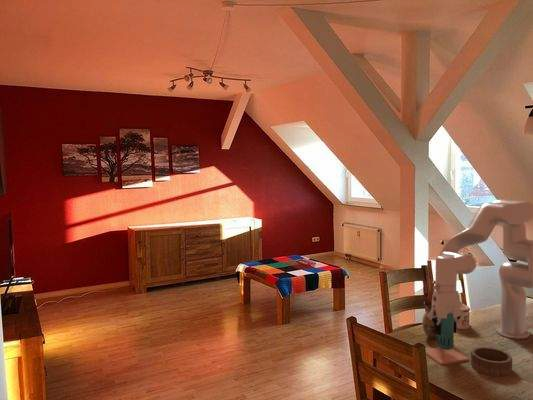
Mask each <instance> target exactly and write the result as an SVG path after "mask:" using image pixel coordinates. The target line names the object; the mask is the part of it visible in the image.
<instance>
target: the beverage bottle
mask: <svg viewBox="0 0 533 400" xmlns="http://www.w3.org/2000/svg"><path fill="white" fill-rule="evenodd" d="M453 315H454V314H453V313H449V314H447V318H445V319H441V321H440V324H439V325H441V335H438V334H437V335H436V337H437V338H436V339H435V340H436V341H435V342H436V343H435V344H436V348H437V347H439V348H441V349H445V350H450V349H454V343H455V340H454V335H455V333H454V317H453ZM437 319H438V318H437Z"/></svg>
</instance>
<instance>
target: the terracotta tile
mask: <svg viewBox="0 0 533 400" xmlns="http://www.w3.org/2000/svg"><path fill="white" fill-rule="evenodd" d="M425 349H426V353H427V355H426V356H427V357H429V358H430V359H432V360H434V362H436V363H438V364H439V365H440V366H441V365H442V366H443V365H448V364H455V363H462V362H468V361H469V358H468V357H467V356H465V355H464V354H462V353H460V352H458V351H457V350H455V349H454V348H453V349H450V350H445V349H441V348H439V347H437V346H436V347H431V348H425Z"/></svg>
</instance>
